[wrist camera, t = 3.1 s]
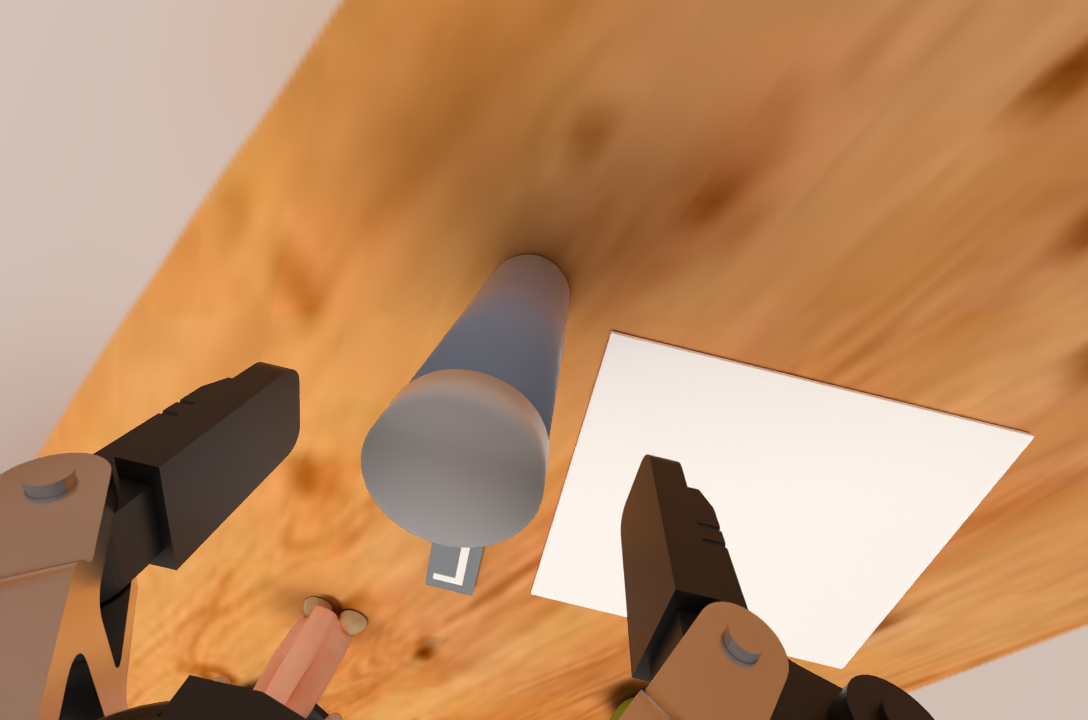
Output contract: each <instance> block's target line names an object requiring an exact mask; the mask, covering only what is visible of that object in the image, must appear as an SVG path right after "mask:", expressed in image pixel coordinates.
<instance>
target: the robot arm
mask: <svg viewBox="0 0 1088 720" xmlns="http://www.w3.org/2000/svg"><path fill="white" fill-rule="evenodd" d="M299 429H300V399H299V375H298V373H297V372H296V371H295V370H293V369H288V368H284V367H280V366H276V365H271V364H267V363H263V362H258V363H256V364H254V365H252V366H251V367H249V368H248V369H246V370H245V371H243V372H242V373H240V374H239V375H237V376H236V377H234V378H233V379H232V378H226V379H223V380H220V381H217V382H214V383H211V384H207V385H204V386H201V387H200V388H198V389H197V390H195V391H193V392H192V393H190V394H189V395H187V396H185V397H184V398H182V399H181V401H180V402H179V403H178V402H176V403H174V404H173V405H171V406H169V407H168V408H166V409H165V410H163V413H162V414H159V413H158V414H157V415H155V416H153V417H152V418H150V419H149V420H147V421H145V422H144V423H142V424H141V425H139V426H137V427H136V428H134V429H133V430H131V431H129V432H128V433H126V434H125V435H123V436H122V437H120V438H118V439H117V440H115V441H114V442H112V443H110V444H109V445H107V446H106V447H104V448H102V449H101V450H99V451H98V452H96V453H94V454H88V453H63V454H56V455H50V456H45V457H41V458H37V459H34V460H31V461H28V462H25V463H23V464H20V465H17V466H15V467H13V468H11V469H9V470H7V471H5V472H4V473H2V474H0V720H307V719H306V718H304V717H302V716H301V715H299V714H298V713H296V712H294V711H293V710H291V709H290V708H288V707H286V706H285V705H283V704H282V703H280V702H278V701H277V700H275V699H274V698H272V697H270V696H269V695H267V694H265V693H264V692H262V691H257V690H253V689H248V688H244V687H240V686H235V685H231V684H226V683H222V682H218V681H213V680H209V679H204V678H200V677H196V676H191V675H189V677H188V678H187V679H186V681H185V682H184V683H183V685H182V686H181V687H180V689H179V690H178V691H177V693H176V694H175V695H174V697H173V698H172V699H171V701H165V702H159V703H153V704H148V705H142V706H138V707H134V708H130V709H127V698H126V685H127V673H128V665H129V656H130V648H131V639H132V631H133V623H134V614H135V606H136V597H137V589H138V586H137V579H136V576H137V575H138V574H139V573H140V572H141V571H142V570H143V569H144V568H145V567H146V566H147V565H149V564H152V565H157V566H161V567H165V568H170V569H174V570H177V569H178V568H179V567H180V566H181V565H182V564H183V563H184V562H185V561H186V560H187V559H188V558H189V557H190V556H191V555H192V554H193V553H194V552H195V551H196V550H197V549H198V547H199V546H200V545H201V544H202V543H203V542H204V541H205V540H206V539H207V538H208V537H209V536H210V535H211V534H212V533H213V532H214V531H215V530H216V529H217V528H218V527H219V526H220V525H221V524H222V523H223V522H224V521H225V520H226V519H227V518H228V517H229V515H230V514H231V513H232V512H233V511H234V510H235V509H236V508H237V507H238V506H239V505H240V504H241V503H242V502H243V501H244V500H245V499H246V498H247V497H248V496H249V495H250V494H251V493H252V492H253V491H254V490H255V489H256V488H257V487H258V486H259V485H260V483H261V482H262V481H263V480H264V479H265V478H266V477H267V476H268V475H269V474H270V473H271V472H272V471H273V470H274V469H275V468H276V467H277V466H278V465H279V464H280V463H281V462H282V461H283V460H284V459H285V458H286V457H287V456H288V454H289V453H290V452H291V451H292V449H293V447H294V445H295V443H296V441H297V438H298V435H299ZM621 545H622V558H623V570H624V583H625V596H626V608H627V621H628V633H629V646H630V659H631V671H632V677H634V678H638V679H642V680H647V681H651V683H650V684H649V685H648V687H647V688H646V689H644V688H643V689H641V690H640V691H639V693H638V694H637V695H636V696H635V698H634V699H633V700H632V702H631V703H630V704H629V706H628V707H627V708H626V710H625V711H624V713H623V714H622V715H621V717H620V718H619V719H618V720H934V719H933V717H932V716H931V715H930V714H929V713H928V712H927V711H926V710H925V709H924V708H923V707H922V706H921V705H920V704H919V703H918V702H917V701H916V700H915V699H914V698H912V697H911V696H910V695H909V694H907V693H906V692H905V691H903V690H902V689H900V688H899V687H897V686H895V685H894V684H892V683H890V682H888V681H886V680H884V679H881V678H879V677H876V676H871V675H859V676H855V677H854V678H852V679H851V680H850V681H849V683H848V684H847V685H846V686H845V687H844V689H842V688H840V687H838V686H837V685H835V684H833V683H831V682H829V681H827V680H825V679H823V678H821V677H820V676H818V675H816V674H814V673H812V672H810V671H808V670H806V669H804V668H803V667H801V666H799V665H797V664H796V663H794V662H792V661H791V660H789V659H788V657H787V655H786V652H785V649H784V647H783V645H782V643H781V642H780V640H779V639H778V637H777V636H776V634H775V633H774V632H773V631H772V629H771V628H770V627H769V626H768V625H767V624H766V623H765V622H764V621H763V620H762V619H760V618H759V617H758V616H757V615H755V614H754V613H752V612H751V611H749V610H748V608H747V605H746V602H745V599H744V596H743V593H742V590H741V587H740V584H739V581H738V578H737V575H736V572H735V569H734V566H733V563H732V560H731V558H730V555H729V552H728V549H727V548H725V545H726V543H725V540H724V537H723V534H722V531H720V525H719V522H718V519H717V516H716V513H715V511H714V508H713V507H712V505H711V504H710V503H709V502H708V500H707V499H706V498H705V497H704V495H703V494H702V493H701V491H700V490H699V489H695V488H690V487H687V483H686V480H685V476H684V473H683V469H682V466H681V464H680V462H678V461H674V460H669V459H665V458H661V457H657V456H652V455H648V454H647V455H645V456H644V458H643V459H642V462H641V464H640V467H639V469H638V472H637V474H636V477H635V480H634V482H633V485H632V487H631V490H630V493H629V495H628V498H627V500H626V503H625V506H624V509H623V513H622V519H621Z"/></svg>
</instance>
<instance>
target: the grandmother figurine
mask: <svg viewBox="0 0 1088 720" xmlns="http://www.w3.org/2000/svg"><path fill="white" fill-rule="evenodd" d="M332 610H333V609H332V606H331V604H330V603H328V602H327V601H325V600H323V599H320V598H317V597H309V598H307V599H306V600H305V601H304V605H303V613H304V618H300V619H299V620H298V621H297V622H296V623H295V624H294V626H293V627H292V629H291V630H290V631H289V633H288V634H287V636H286V637H285V639H284V640H283V641H282V643H281V644H280V646H279V647H278V649H277V650H276V652H275V653H274V655H273V656H272V658H271V660H270V661H269V663H268V665H267V667H266V668H265V670H264V672H263V673H262V675H261V676H260V678H259V680H258V681H257V683H256V685H255V686H254V688H253V690H257V691H262V692H264V693H265V694H267V695H269V696H270V697H272V698H274V699H275V700H277V701H278V702H280V703H282V704H283V705H285V706H286V707H288V708H290V709H291V710H293V711H294V712H296V713H298V714H299V715H301V716H302V717H304V718H307V716H308V715H309V714H310V712H311V711H312V709H313V708H314V706H315V704H316V703H317V701H318V700H319V698H320V697H321V695H322V693H323V691H324V690H325V688H326V686H327V685H328V683H329V681H330V679H331V678H332V676H333V674H334V672H335V671H336V669H337V667H338V665H339V664H340V662H341V660H342V658H343V656H344V654H345V652H346V650H347V648H348V647H349V645H350V643H351V640H352V639H351V637H352V636H354V635H356V634H357V633H359V632H361V631H362V630H363V629H364V628H365V627H366V626H367V619H366V618H365V617H364V616H363V615H361V614H360V613H358V612H356V611H352V610H346V611H343V612H342V613H340V615H339V617H338V618H337V616H336V614H335V613H334V612H333V611H332ZM213 681H218V682H222V683H226V684H230V680H229V679H228V677H226V676H218V677H216V678H215V679H213ZM325 720H342V716H341V715H340V714H339V713H331V714H330V715H329V716H328V717H327V718H326V719H325Z"/></svg>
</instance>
